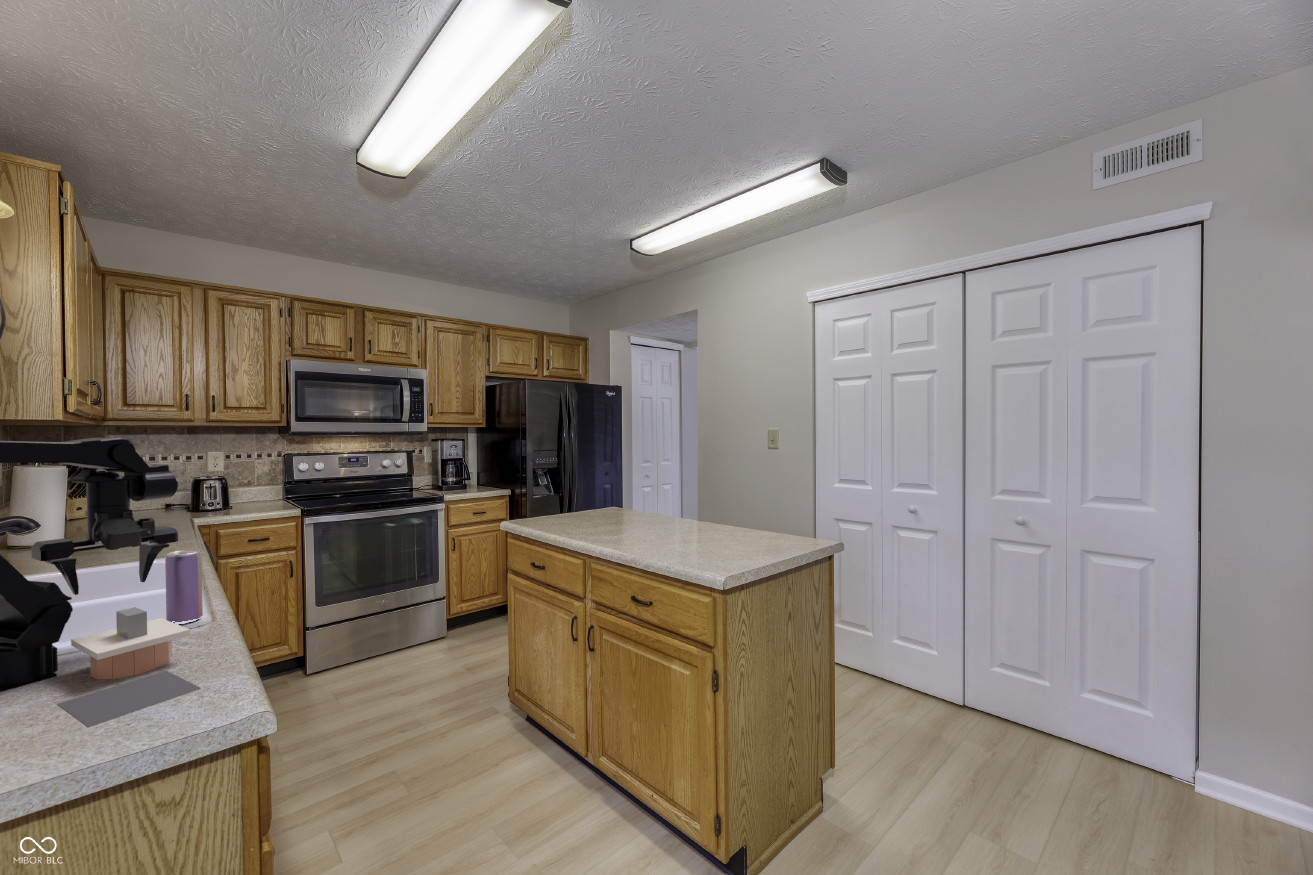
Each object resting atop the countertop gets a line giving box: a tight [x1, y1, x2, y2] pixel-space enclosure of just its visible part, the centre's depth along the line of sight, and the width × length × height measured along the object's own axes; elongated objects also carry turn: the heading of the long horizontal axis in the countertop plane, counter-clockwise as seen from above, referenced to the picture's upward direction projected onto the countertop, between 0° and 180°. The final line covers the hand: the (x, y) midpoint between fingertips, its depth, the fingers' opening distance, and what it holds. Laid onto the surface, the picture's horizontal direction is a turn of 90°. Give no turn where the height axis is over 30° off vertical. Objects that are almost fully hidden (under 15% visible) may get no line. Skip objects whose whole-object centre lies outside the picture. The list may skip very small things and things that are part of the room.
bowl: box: [89, 640, 173, 680], centre depth 96 cm, size 10×10×5 cm
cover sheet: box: [70, 607, 191, 660], centre depth 96 cm, size 12×12×5 cm
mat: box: [56, 670, 202, 728], centre depth 85 cm, size 13×13×1 cm
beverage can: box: [164, 549, 204, 623], centre depth 119 cm, size 6×6×15 cm
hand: (110, 587), depth 103 cm, fingers open, 9 cm apart
